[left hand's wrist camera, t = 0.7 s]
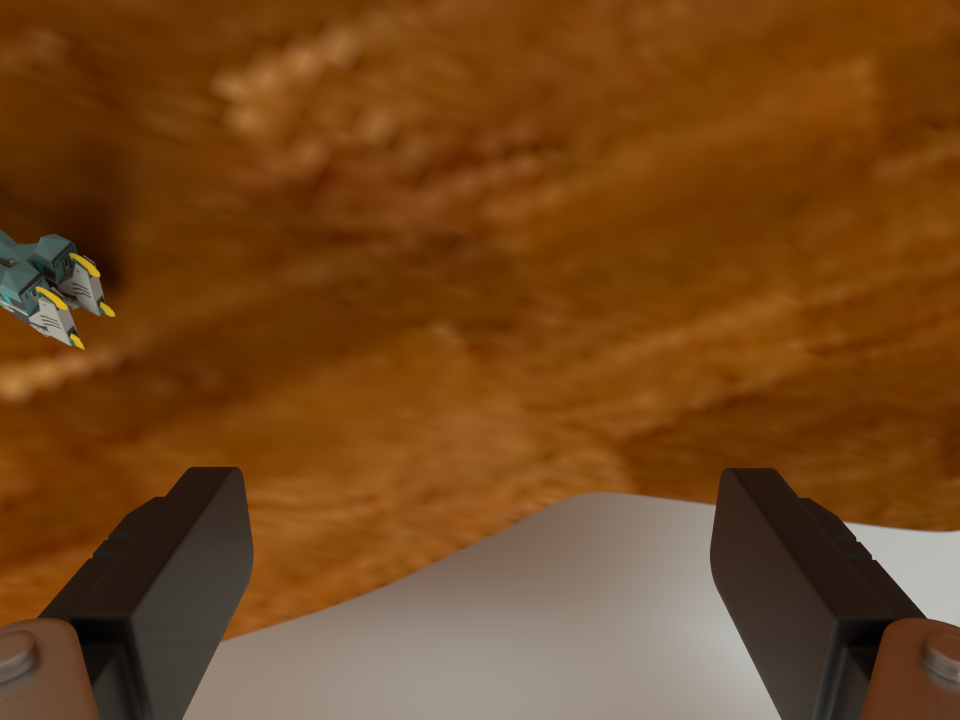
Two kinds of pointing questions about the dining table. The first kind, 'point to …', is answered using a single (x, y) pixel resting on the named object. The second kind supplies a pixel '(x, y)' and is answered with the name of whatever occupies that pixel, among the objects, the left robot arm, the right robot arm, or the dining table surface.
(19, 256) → the figurine
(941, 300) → the dining table surface
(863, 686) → the left robot arm
